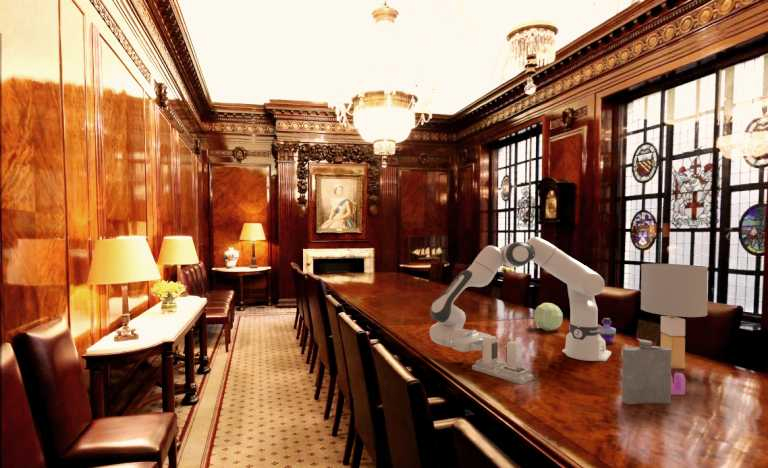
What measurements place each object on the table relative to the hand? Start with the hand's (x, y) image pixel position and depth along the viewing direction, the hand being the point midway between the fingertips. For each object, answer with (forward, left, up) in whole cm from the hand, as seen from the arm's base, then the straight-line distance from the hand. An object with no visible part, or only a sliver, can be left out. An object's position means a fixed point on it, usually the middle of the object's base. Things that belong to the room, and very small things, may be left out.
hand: (489, 346), depth 169 cm
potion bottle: (-82, +14, -10) cm, 84 cm away
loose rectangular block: (0, 0, -8) cm, 8 cm away
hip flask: (-13, +52, -10) cm, 54 cm away
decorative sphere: (-84, -18, -10) cm, 87 cm away
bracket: (-33, +52, -10) cm, 62 cm away
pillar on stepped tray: (0, +6, -10) cm, 11 cm away
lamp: (-63, +47, -10) cm, 79 cm away
